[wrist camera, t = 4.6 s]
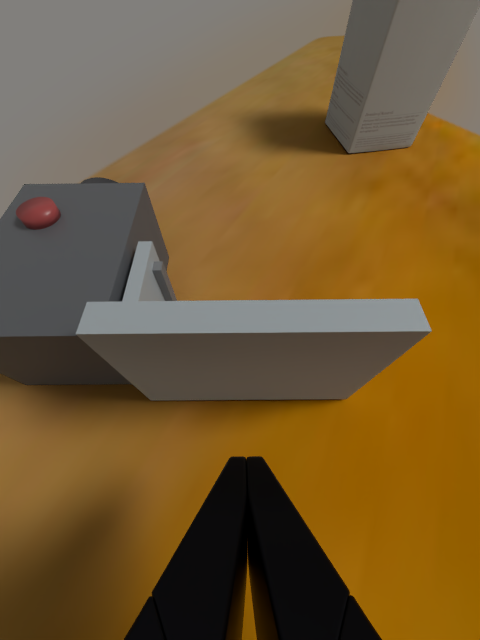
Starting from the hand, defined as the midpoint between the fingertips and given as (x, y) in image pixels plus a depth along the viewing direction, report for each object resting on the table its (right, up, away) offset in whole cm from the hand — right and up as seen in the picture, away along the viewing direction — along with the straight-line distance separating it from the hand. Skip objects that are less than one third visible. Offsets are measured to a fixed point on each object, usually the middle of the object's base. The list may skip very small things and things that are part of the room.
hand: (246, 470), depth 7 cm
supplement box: (+14, +25, +23) cm, 37 cm away
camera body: (-9, +5, +12) cm, 16 cm away
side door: (0, +2, +9) cm, 10 cm away
